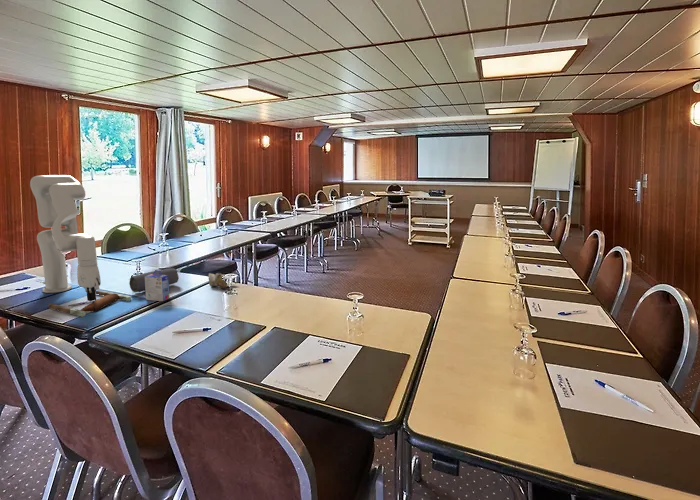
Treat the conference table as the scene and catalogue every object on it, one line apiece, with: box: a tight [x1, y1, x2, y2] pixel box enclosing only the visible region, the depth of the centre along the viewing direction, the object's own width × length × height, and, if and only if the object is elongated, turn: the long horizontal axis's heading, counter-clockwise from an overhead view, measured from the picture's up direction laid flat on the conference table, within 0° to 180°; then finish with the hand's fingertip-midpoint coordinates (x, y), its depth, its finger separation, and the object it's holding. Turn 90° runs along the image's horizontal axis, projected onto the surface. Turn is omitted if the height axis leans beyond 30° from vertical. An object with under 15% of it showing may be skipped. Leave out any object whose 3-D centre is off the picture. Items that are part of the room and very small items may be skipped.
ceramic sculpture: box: [208, 271, 238, 289], centre depth 228 cm, size 11×9×15 cm
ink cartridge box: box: [145, 269, 170, 302], centre depth 205 cm, size 10×6×14 cm, turn 79°
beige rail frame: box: [47, 289, 132, 318], centre depth 196 cm, size 23×24×2 cm
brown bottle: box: [80, 293, 119, 313], centre depth 196 cm, size 18×7×7 cm
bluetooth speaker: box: [129, 267, 180, 293], centre depth 220 cm, size 23×9×10 cm, turn 144°
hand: (91, 300), depth 196 cm, fingers closed
